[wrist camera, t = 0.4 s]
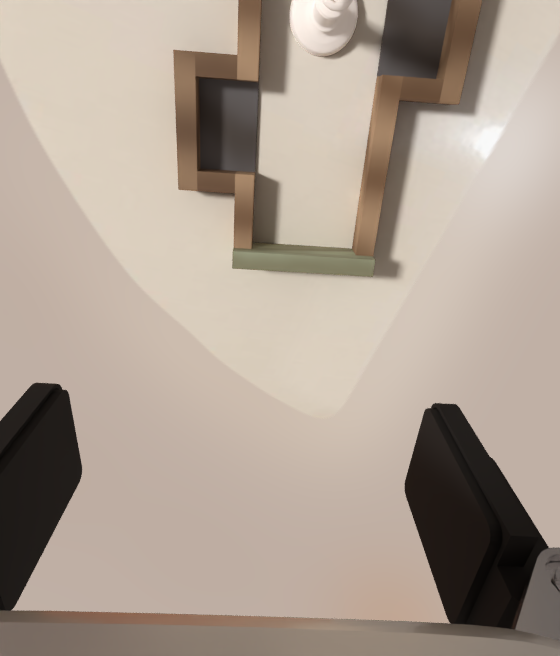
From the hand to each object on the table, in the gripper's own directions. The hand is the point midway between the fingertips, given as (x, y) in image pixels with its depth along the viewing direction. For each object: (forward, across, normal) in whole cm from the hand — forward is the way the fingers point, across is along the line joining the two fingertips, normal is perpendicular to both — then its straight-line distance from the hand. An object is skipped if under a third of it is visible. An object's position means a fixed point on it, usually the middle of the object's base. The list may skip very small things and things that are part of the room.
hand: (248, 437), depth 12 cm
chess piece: (+30, -3, -14) cm, 33 cm away
